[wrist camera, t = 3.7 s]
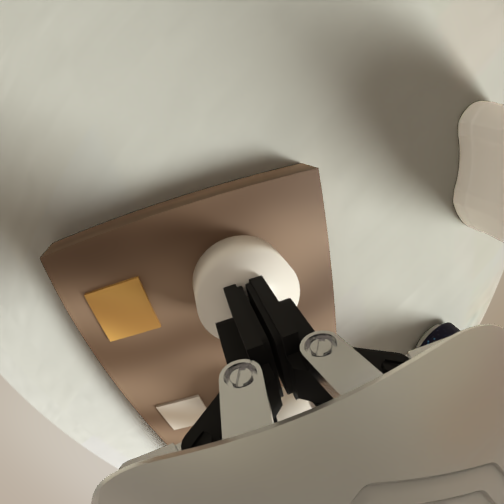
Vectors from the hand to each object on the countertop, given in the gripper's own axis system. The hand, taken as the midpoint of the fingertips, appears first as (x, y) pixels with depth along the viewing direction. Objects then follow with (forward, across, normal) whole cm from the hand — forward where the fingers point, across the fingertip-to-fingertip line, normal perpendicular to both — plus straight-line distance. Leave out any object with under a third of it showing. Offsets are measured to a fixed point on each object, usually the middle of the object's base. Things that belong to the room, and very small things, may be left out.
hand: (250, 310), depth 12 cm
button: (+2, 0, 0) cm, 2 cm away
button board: (+5, +2, +9) cm, 10 cm away
